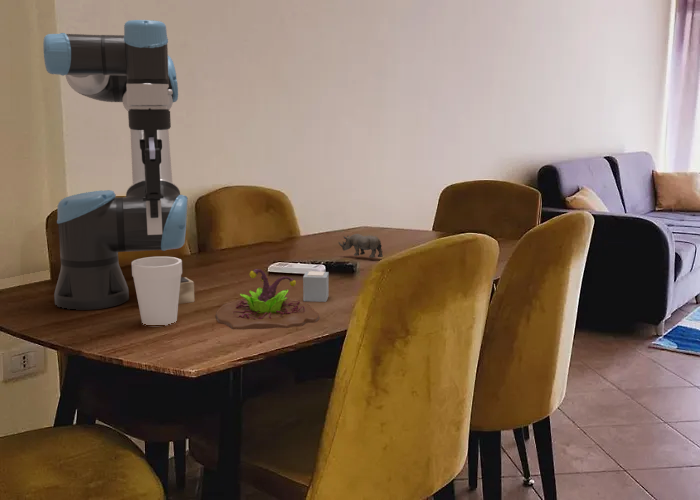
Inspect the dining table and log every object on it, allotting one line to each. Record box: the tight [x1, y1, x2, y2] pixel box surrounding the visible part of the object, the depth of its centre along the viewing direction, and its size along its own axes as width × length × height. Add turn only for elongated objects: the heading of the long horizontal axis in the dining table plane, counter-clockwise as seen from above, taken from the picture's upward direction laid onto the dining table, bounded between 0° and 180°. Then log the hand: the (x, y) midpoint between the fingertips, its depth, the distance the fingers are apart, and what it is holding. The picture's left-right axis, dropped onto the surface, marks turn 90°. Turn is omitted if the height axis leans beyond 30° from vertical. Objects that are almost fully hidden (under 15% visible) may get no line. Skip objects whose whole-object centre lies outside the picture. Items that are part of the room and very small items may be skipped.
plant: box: [215, 268, 320, 330], centre depth 152 cm, size 20×20×11 cm
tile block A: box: [178, 276, 195, 305], centre depth 165 cm, size 5×5×5 cm
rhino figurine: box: [338, 233, 384, 259], centre depth 215 cm, size 4×14×6 cm, turn 60°
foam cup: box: [131, 256, 183, 326], centre depth 147 cm, size 10×9×13 cm
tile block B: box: [302, 270, 330, 303], centre depth 167 cm, size 5×5×6 cm
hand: (154, 233), depth 145 cm, fingers closed
